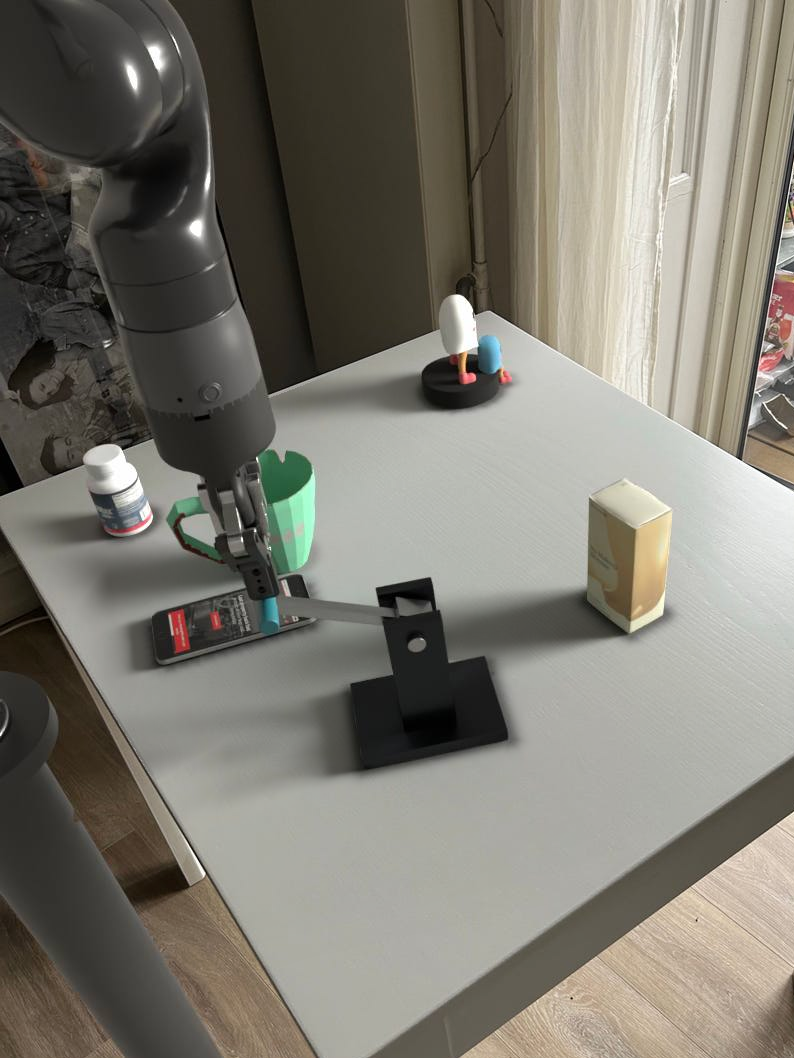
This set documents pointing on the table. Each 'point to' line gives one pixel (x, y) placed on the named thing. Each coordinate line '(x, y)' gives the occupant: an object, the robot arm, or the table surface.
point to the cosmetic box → (627, 554)
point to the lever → (333, 611)
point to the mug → (268, 512)
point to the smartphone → (218, 622)
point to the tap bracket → (423, 691)
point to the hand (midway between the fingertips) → (265, 592)
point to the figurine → (463, 361)
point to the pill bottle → (116, 491)
